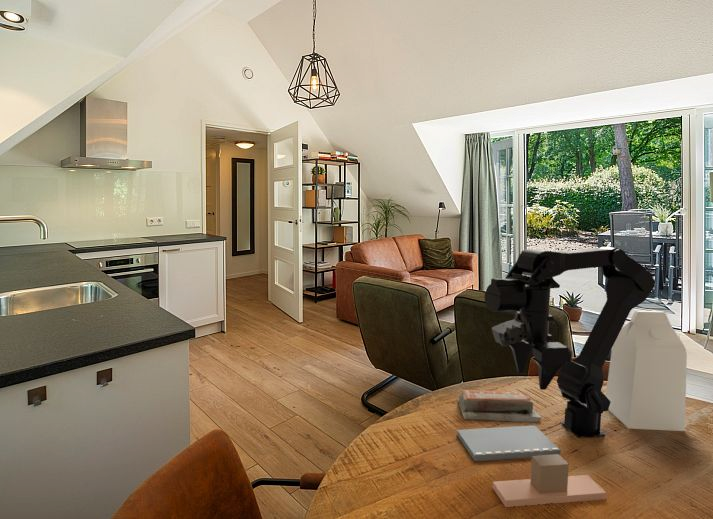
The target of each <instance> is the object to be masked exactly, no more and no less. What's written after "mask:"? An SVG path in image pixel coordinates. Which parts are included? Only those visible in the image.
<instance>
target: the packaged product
mask: <svg viewBox="0 0 713 519" xmlns="http://www.w3.org/2000/svg"><path fill="white" fill-rule="evenodd" d="M457 402H458V403H457V404H458V407H459V409H460V411H461V415H462V417H463V419H464V420H482V421H484V420H485V421H502V422H522V423H523V422H525V423H526V422H527V423H529V422H530V423H540V422H541V420H542V416H541V415H540V414H539V413H538V411H536V410H535V408H534V402H533V401H532V399H531V397H530V396H529V395H527V394H524V393H523V392H522V393H521V392H507V391H490V390H471V389H463V390H462V391H461V393H460V394H459V396H458V398H457Z"/></svg>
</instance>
